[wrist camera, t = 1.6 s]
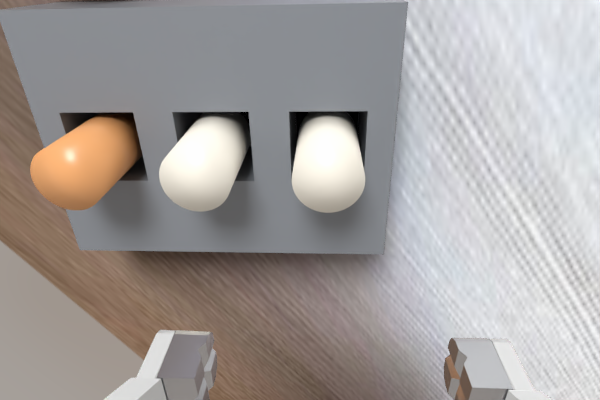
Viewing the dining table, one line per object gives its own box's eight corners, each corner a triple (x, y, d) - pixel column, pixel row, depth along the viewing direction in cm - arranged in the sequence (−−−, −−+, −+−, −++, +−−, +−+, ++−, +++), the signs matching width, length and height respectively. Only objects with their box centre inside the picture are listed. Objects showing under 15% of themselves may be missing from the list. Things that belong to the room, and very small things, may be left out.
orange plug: (143, 106, 27) (91, 146, 21) (155, 159, 29) (109, 210, 23) (87, 106, 27) (19, 146, 21) (102, 159, 29) (43, 210, 23)
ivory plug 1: (249, 106, 27) (226, 146, 21) (253, 159, 29) (234, 211, 22) (191, 106, 27) (152, 147, 21) (199, 159, 29) (166, 211, 23)
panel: (391, -5, 26) (407, 2, 21) (374, 210, 34) (383, 254, 29) (58, 2, 27) (-4, 10, 22) (116, 208, 35) (80, 249, 30)
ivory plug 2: (357, 105, 26) (367, 146, 20) (355, 160, 28) (363, 213, 22) (298, 105, 27) (290, 147, 20) (299, 160, 28) (292, 212, 22)
